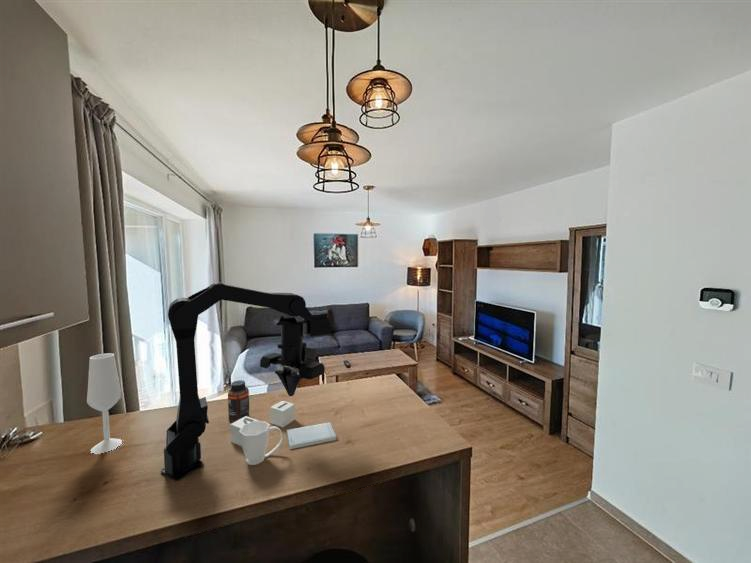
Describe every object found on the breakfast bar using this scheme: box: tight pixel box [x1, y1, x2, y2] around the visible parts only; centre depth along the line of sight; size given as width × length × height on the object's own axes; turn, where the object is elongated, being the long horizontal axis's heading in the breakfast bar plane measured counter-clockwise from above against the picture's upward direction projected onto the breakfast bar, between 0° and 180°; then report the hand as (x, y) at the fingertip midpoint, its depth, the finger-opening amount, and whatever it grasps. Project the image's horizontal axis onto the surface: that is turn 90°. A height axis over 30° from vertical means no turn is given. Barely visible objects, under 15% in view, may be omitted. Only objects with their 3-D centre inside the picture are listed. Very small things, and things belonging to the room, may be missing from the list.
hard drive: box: [286, 421, 337, 450], centre depth 87 cm, size 2×8×12 cm
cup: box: [239, 420, 284, 466], centre depth 77 cm, size 7×10×8 cm
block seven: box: [230, 416, 260, 447], centre depth 85 cm, size 5×5×5 cm
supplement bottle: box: [227, 379, 251, 423], centre depth 96 cm, size 6×6×11 cm
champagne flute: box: [86, 352, 123, 455], centre depth 81 cm, size 7×7×24 cm
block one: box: [269, 400, 296, 428], centre depth 95 cm, size 5×5×5 cm
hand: (291, 395), depth 86 cm, fingers closed
